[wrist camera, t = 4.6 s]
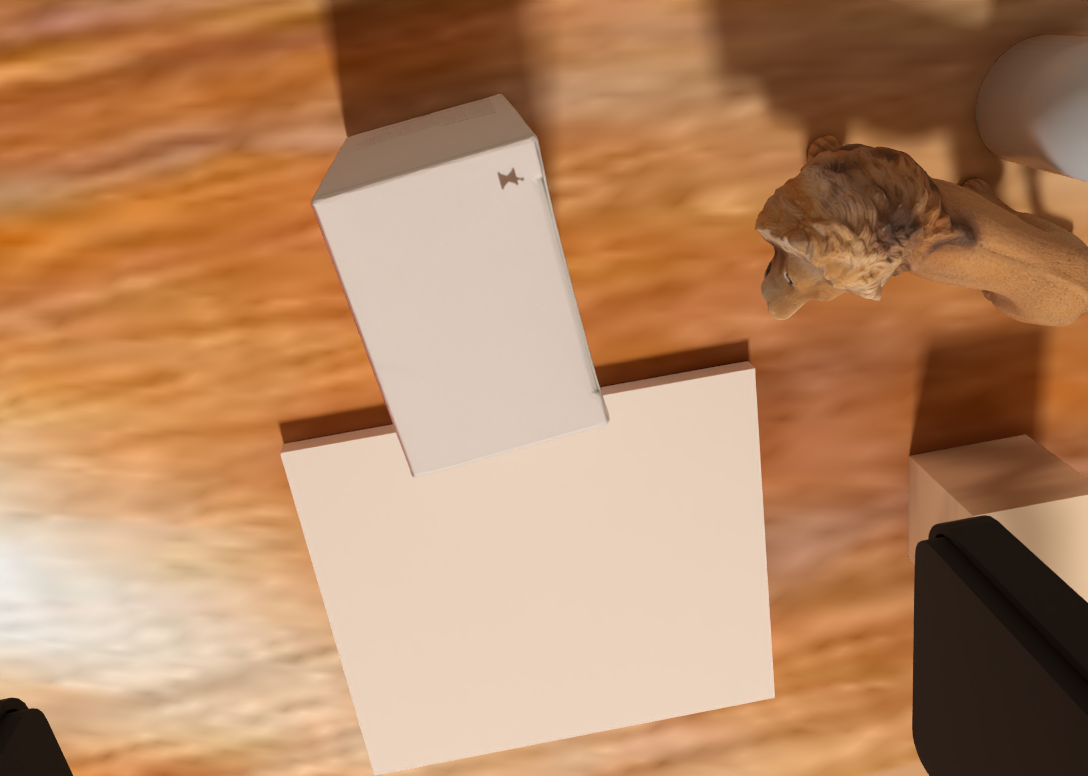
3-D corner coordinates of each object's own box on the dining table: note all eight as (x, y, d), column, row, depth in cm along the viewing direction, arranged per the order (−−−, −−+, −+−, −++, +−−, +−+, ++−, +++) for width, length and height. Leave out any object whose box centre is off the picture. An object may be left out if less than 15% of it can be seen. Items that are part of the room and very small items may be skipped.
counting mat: (748, 361, 35) (754, 368, 35) (768, 685, 42) (774, 697, 41) (283, 443, 35) (280, 453, 34) (375, 761, 41) (374, 775, 40)
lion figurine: (687, 259, 34) (768, 341, 25) (721, 110, 32) (820, 146, 23) (1045, 310, 36) (1227, 399, 28) (1096, 174, 34) (1308, 226, 26)
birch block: (1024, 433, 38) (1105, 491, 33) (1017, 535, 40) (1093, 603, 35) (908, 454, 38) (973, 516, 33) (907, 556, 40) (968, 627, 35)
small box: (344, 134, 31) (301, 191, 21) (505, 89, 31) (537, 125, 21) (417, 350, 34) (409, 487, 24) (562, 309, 34) (613, 429, 24)
